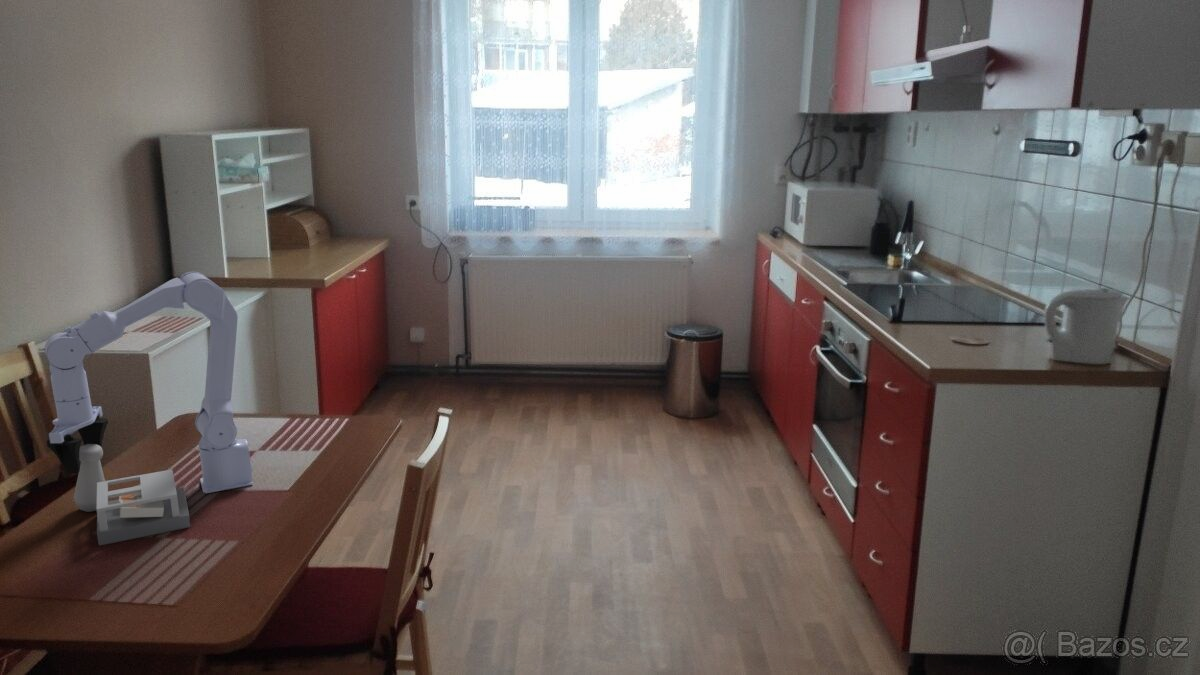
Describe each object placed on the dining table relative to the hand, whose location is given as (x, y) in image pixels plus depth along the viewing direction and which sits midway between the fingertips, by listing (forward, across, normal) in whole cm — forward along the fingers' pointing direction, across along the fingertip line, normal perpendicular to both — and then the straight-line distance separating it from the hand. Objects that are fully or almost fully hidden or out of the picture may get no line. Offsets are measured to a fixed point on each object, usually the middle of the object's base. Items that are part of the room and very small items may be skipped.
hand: (83, 464), depth 168 cm
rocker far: (+6, +1, +10) cm, 12 cm away
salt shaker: (+10, -2, -1) cm, 10 cm away
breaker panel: (+10, +4, +12) cm, 16 cm away
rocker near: (+6, +7, +13) cm, 16 cm away
